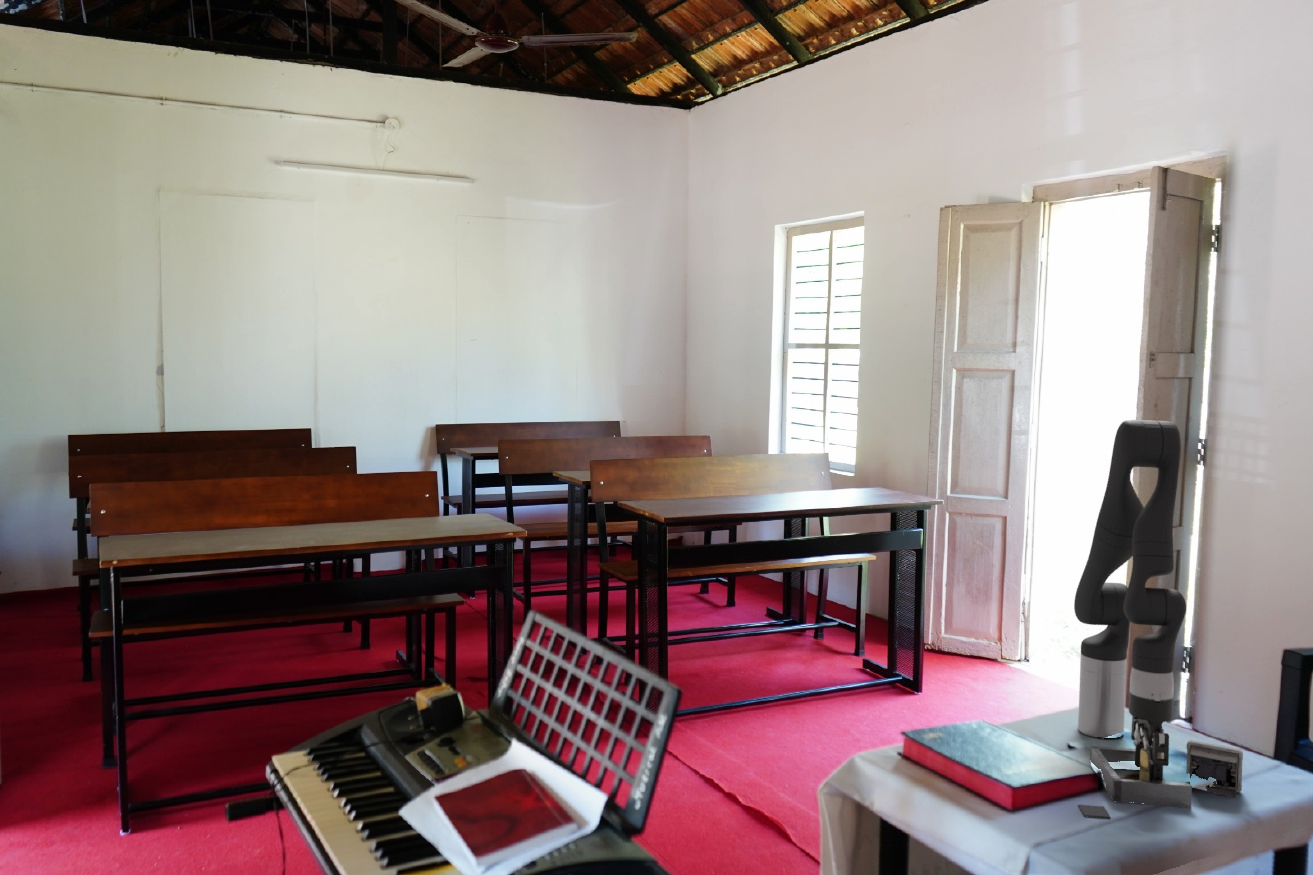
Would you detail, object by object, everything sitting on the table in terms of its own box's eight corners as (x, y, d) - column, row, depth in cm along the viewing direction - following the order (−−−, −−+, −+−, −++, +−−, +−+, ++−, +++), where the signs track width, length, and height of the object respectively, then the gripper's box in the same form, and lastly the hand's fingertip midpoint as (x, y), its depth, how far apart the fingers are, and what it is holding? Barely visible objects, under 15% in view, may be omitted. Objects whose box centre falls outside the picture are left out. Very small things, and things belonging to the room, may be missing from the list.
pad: (1078, 806, 184) (1078, 804, 184) (1103, 808, 183) (1103, 806, 183) (1084, 816, 179) (1084, 815, 179) (1110, 818, 178) (1110, 817, 178)
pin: (1137, 783, 194) (1138, 747, 194) (1151, 784, 194) (1153, 748, 193) (1141, 788, 192) (1143, 752, 191) (1156, 789, 191) (1157, 753, 191)
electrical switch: (1242, 791, 191) (1243, 745, 189) (1240, 804, 186) (1242, 757, 185) (1186, 780, 196) (1187, 735, 194) (1183, 792, 191) (1185, 746, 190)
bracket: (1089, 765, 203) (1090, 746, 202) (1159, 770, 200) (1160, 750, 200) (1114, 802, 185) (1114, 780, 185) (1190, 807, 183) (1191, 786, 183)
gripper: (1119, 679, 199) (1116, 760, 200) (1142, 702, 185) (1138, 788, 186) (1160, 682, 198) (1157, 762, 199) (1185, 705, 184) (1182, 791, 185)
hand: (1148, 775), depth 192 cm, fingers open, 8 cm apart
